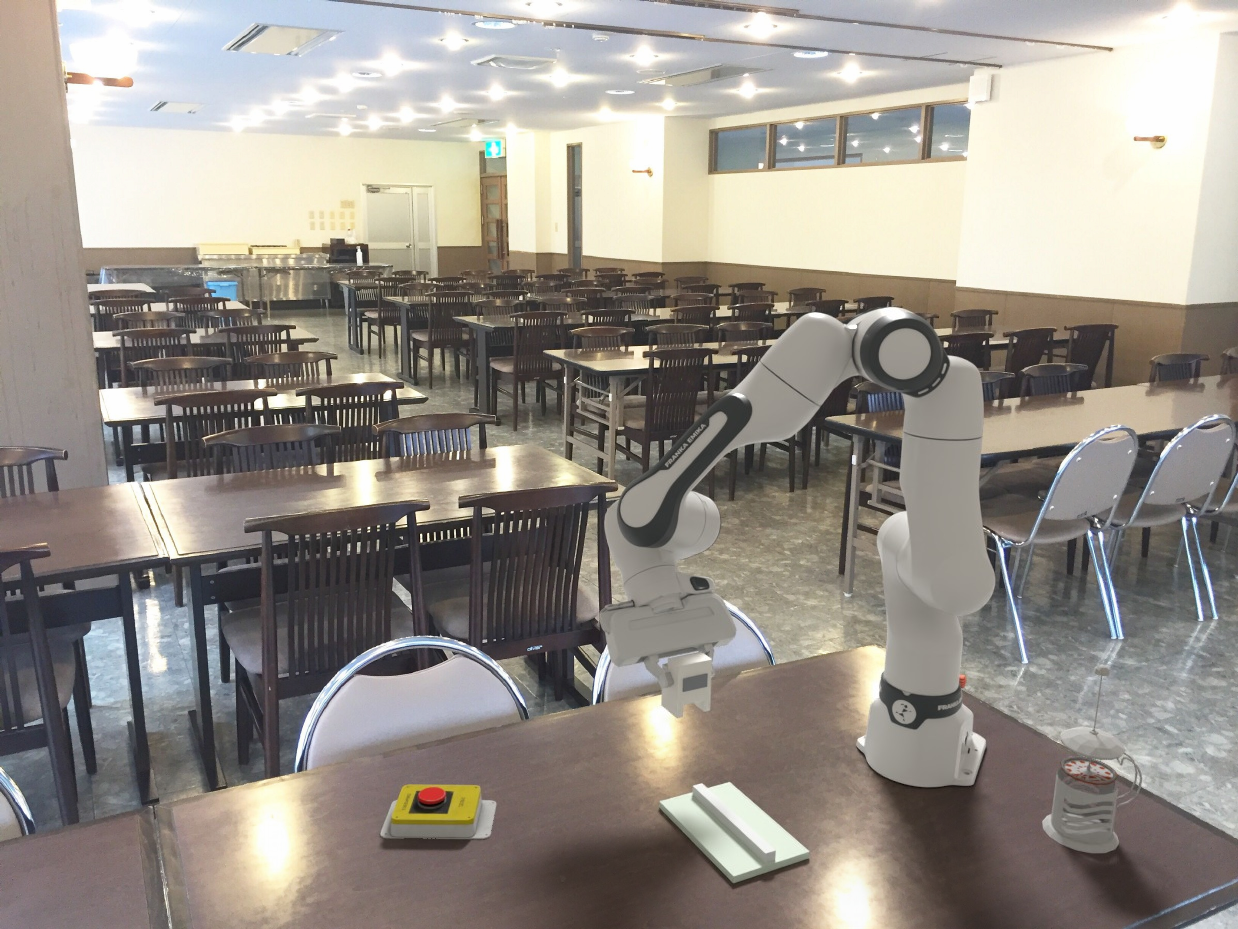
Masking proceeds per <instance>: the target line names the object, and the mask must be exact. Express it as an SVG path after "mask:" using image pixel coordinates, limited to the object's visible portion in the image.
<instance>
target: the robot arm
mask: <svg viewBox="0 0 1238 929" xmlns="http://www.w3.org/2000/svg"><path fill="white" fill-rule="evenodd" d="M855 376H857V377H858V376H860V377H863V378H864V379H866V380H867V381H869V382H871V383H873V384H876V385H878V386H880V387H882V388H884V389H887V390H889V391H893V392H896V393H899V394H901V395H902V398H903V402H904V403H903V404H904V405H903V407H904V410H905V411H904V416H903V425H902V426H903V429H902V440H901V452H900V453H901V454H900V456H901V457H900V464H899V466H900V467H899V487H900V490H901V492H902V496H903V500H904V504H905V510H904V511H899V512H897V513H894V514H893V515H891V516H889V517H888V518H886V520H884V522H883V523H882V524H881V526H880V528H879V529H878V532H877V536H876V548H877V551H878V554H879V557H880V562H881V572H882V586H883V596H884V602H885V613H886V642H885V643H886V644H885V646H886V647H885V658H884V670H883V671H882V673H881V674H880V680H879V684H878V685H879V686H878V687H879V688H878V689H879V693H878V698H875V700H873V701H871V702H870V705H869V710H868V718H867V724H866V729H865V730H866V731H865V734H864V735H863V736H860V737H858V738H857V740H856V745H855V746H856V747H857V748H858V750H860V751H861V752H862V753H863V754H864V756H865V759H866V762H867V763H868V765H869V766H870V767H871V769H873V770H874V772H876V773H878V774H879V775H880V776H883V777H885V778H886V779H889V780H891V781H895V782H897V783H899V784H900V783H901V784H904V785H907V786H913V787H921V788H938V787H944V786H945V787H946V786H961V787H962V786H964V787H965V786H966V787H967V786H968V787H969V786H972V785H974V784H975V780H976V777H977V775H978V771H979V769H980V766H981V763H982V760H983V756H984V753H985V750H986V747H987V741H986V739H985V738H984V737H983V736H982V735H980V734H979V733H976V732H974V731H973V727H974V726H973V725H974V713H973V712H972V711H971V709H969V708H968V706H966V705H965V704H964V703H963V691H962V689H964V688H965V687H966V684H967V679H968V678H967V675H963V674H961V667H962V666H961V665H962V656H963V647H964V646H963V645H964V638H963V637H964V634H963V630H962V627H961V625H960V621H959V617H958V616H967V615H971V614H973V613H975V612H977V611H979V610H981V609H982V608H983V607H984V606H985V605H986V604H988V602H989V601H990V599H991V598H992V595H993V593H994V592H995V591H994V590H995V586H996V574H995V571H994V568H993V565H992V563H991V561H990V558H989V554H988V552H987V546H986V540H985V532H984V525H983V518H982V517H983V516H982V510H981V500H980V474H981V462H982V461H981V460H982V447H983V438H984V436H983V435H984V418H985V417H984V416H985V415H984V414H985V412H984V411H985V410H984V408H985V406H984V404H985V403H984V392H983V383H982V375H981V373H980V370H979V369H978V367H977V366H976V365H975V364H974V363H973V362H971V361H969V360H967V359H964V358H963V357H961V356H960V357H959V356H954V355H948V354H947V351H946V350H945V348H944V346H943V343H942V342H941V339H940V338H939V335H938V333H937V332H936V330H935V329H934V327H933V326H932V324H930V323H929V321H928V320H926V319H925V318H923V317H922V316H921V315H918V314H917V313H915V312H912V311H910V310H908V309H905V308H902V307H897V306H896V307H895V306H894V307H893V306H879V307H873V308H869V309H868V310H864V311H863V312H860V313H858V314H856V315H854V316H852V317H849V318H847V319H845V320H842V321H841V320H840V321H839V319H837V318H835V317H833V316H832V315H830V314H826V313H822V312H808V313H806V314H804V315H802V316H800V317H799V318H798V319H797V320H796V321H795V322H794V323H793V324H792V325H791V326H789V327H788V328H787V329H786V330H785V331H784V332H783V333H782V334H781V336H779V337H778V338H777V340H776V341H774V343H773V344H772V345H771V346H770V347H769V348H768V349H767V351H765V353H764V355H763V356H762V357H761V358H760V360H759V361H758V362H757V364H756V365H755V366H754V367H753V369H751V371H750V372H749V373H748V374H747V375H746V376H745V378H743V380H742V381H741V382H740V383H738V385H737V386H736V387H735V388H733V389H732V390H731V391H729V392H728V393H727V394H726V395H724V396H722V397H720V398H719V399H718V400H716V401H715V402H714V403H713V404H711V405H710V406H709V407H708V408H707V409H706V410H705V411H704V412H703V413H702V414H701V416H699V417H698V419H697V420H695V422H693V424H692V425H691V426H690V427H689V428H688V429H687V430H686V431H685V432H684V434H683V435H682V436H681V437H680V438H679V439H678V440H676V442H675V443H674V444H673V446H671V447H670V449H669V450H667V452H666V453H665V454H664V455H663V456H662V457H661V458H660V460H659V461H658V462H656V463H655V465H653V466H652V467H650V469H649V470H647V471H646V472H643V473H642V474H641V475H639V476H637V477H636V478H634V479H633V480H632V481H631V482H630V483H628V484H627V486H626V487H625V488H624V489H623V491H622V493H621V495H620V497H619V499H617V500H616V501H615V502H613V503H612V505H610V506H609V507H608V508H607V511H606V513H605V515H604V522H603V523H604V532H605V533H604V534H605V538H606V540H607V541H606V542H607V545H608V548H609V552H610V555H611V557H612V560H613V563H614V565H615V567H616V568H617V570H618V571H619V572H620V575H621V584H622V589H623V591H624V595H625V597H626V599H627V601H621V602H619V603H609V604H606V605H605V606H604V608H602V609H601V610H600V611H599V614H598V620H599V623H600V626H601V629H602V630H603V632H604V633H605V641H606V645H607V650H608V655H609V658H610V660H611V663H612V664H614V665H615V666H616V667H618V668H623V667H627V666H632V665H637V664H642V663H644V666H645V669H646V670H647V671H648V672H649V673H650V674H651V675H652V676H653V677H655V678H656V679H657V681H658V685H659V687H660V689H661V690H662V689H663V688H668V687H671V686H672V685H673V684H674V680H673V678H672V675H671V672H666V673H665V671H664V670H663V669H662V667H661V666H660V665H659V664H658V663H659V662H660V659H665V658H666V659H668V658H673V657H677V656H682V655H687V654H692V653H697V652H702V653H704V654H705V655H707V656H708V657H710V658H711V659H712V663H713V661H714V654H715V648H720V647H724V646H727V645H729V643H731V642H732V641H733V640H734V639H735V637H736V634H737V626H736V624H735V621H734V619H733V616H732V614H731V612H730V610H729V608H728V606H727V604H726V602H725V601H724V599H723V598H722V597H721V596H720V595H719V594H718V593H715V592H714V591H715V590H716V584H715V581H714V579H712V578H711V577H707V576H701V575H695V574H689V573H686V572H681V571H679V569H678V566H677V564H678V562H679V561H682V560H686V559H690V558H692V557H694V556H697V555H699V554H703V553H704V552H706V551H708V550H709V549H710V548H712V546H714V544H715V543H716V541H717V539H718V538H719V535H720V532H721V529H722V516H721V513H720V509H719V507H718V505H717V504H716V502H715V501H714V500H713V499H711V498H710V497H708V496H706V495H704V494H701V493H699V492H696V491H693V489H694V488H695V487H696V486H697V485H698V484H699V483H700V482H701V481H702V479H704V478H705V477H706V475H707V474H708V473H709V472H710V471H711V470H712V468H714V466H716V464H718V462H719V461H720V460H721V459H722V458H723V457H724V456H726V455H727V454H728V453H731V451H733V450H735V449H738V448H741V447H744V446H747V445H752V444H758V443H773V442H780V441H784V440H788V439H790V438H793V436H794V435H795V434H797V433H798V432H799V431H801V430H802V429H803V428H804V427H805V426H806V425H807V424H808V423H809V422H810V421H811V420H812V418H813V417H814V416H815V414H816V413H817V412H818V411H819V410H820V408H821V406H822V405H823V404H824V402H825V401H826V400H827V398H828V397H830V394H831V393H832V392H833V390H834V389H836V388H837V387H838V386H839V385H840V384H841V383H842V382H844V381H846V380H848V379H849V378H851V377H855ZM715 676H716V670H715V668H714V665H713V664H712V676H711V679H712V678H713V677H715Z"/></svg>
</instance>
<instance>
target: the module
mask: <svg viewBox="0 0 1238 929" xmlns="http://www.w3.org/2000/svg"><path fill="white" fill-rule="evenodd" d="M712 665H713V662H712V659H711V658H710V657H708V656H707V655H705V654H704V653H702V652H698V651H696V652H691V653H686V654H681V655H677V656H672V657H667V662H665V663H662V667H661V668H662V669H663V670H664V671H665V673H666V672H671V675H672V678H673V680H674V684H673V685H672V686H671V687H668V688H663V689H662V688H661V700H660V701H661V705H660V706H662V708H664V709H665V710H666V711H667V712H669V713H670V714H671V715H672V716H673V717H674V718H675V719H680V718H684V706H687V705H691V704H692V705H693V704H694V706H696V707H697V708H699V709H700V710H701V711H702V712H704V713H706V712H710V711H711V699H712V698H711V697H712V678H711V676H712Z"/></svg>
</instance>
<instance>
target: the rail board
mask: <svg viewBox="0 0 1238 929" xmlns="http://www.w3.org/2000/svg"><path fill="white" fill-rule="evenodd" d="M691 791H692V792H688V793H685V794H681V795H677V796H675V797H670V798H666V799H664V800H662V799H661V800H659V804H658V805H659V809H660V810H661V811H662V812H663V813H664V815H666V816H667V817H668V818H669V819H670V820H671V821H672V823H674V824H675V825H676V826H677V827H678V828H679V829H680V830H681V831H682V833H684V834H685V835H686V836H687V838H689V840H691V842H692V843H693V844H694V845H695V846H696V847H697V848H698V849H699V850H700V851H701V852H702V853H703V854H704V855H705V856H706V857H707V858H708V859H709V860H710V861H711V862H712V863H713V864H714V866H716V867H717V868H718V869H719V871H720V872H722V873H723V874H724V876H726V878H728V880H729V881H730V882H731V883H733V884H736V883H738V882H742V881H745V880H747V879H751V878H753V877H757V876H760V875H762V874H766V873H769V872H772V871H775V870H778V869H781V868H784V867H787V866H789V865H793V864H796V863H800V862H802V861H805V860H808V859H810V850H809V849H807V847H805V846H804V845H803V844H802V843H800V842H799V841H798V840H797V839H796V838H795V837H794V836H792V835H791V834H790V833H789V832H788V831H787V830H785V829H784V828H783V827H782V826H781V825H780V824H779V823H778V822H776V821H775V820H774V819H773V818H772V817H771V816H770V815H769V814H767V813H766V811H764V810H762V809H761V808H760V807H759V806H758V805H757V804H756V803H754V802H753V801H752V800H751V799H750V798H749V797H748V796H746V795H745V794H744V793H743V792H742V790H740V789H738V788H737V787H736V786H735V785H734V784H733V783H732V782H730V781H728V782H724V783H722V784H717V785H714V786H711V787H707V786H706V785H705V784H703V783H698V784H694V785H692V790H691Z"/></svg>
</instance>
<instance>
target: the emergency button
mask: <svg viewBox="0 0 1238 929" xmlns="http://www.w3.org/2000/svg"><path fill="white" fill-rule="evenodd" d="M497 806H498V805H497V801H495V800H491V799H490V800H489V799H487V800H486V799H482V790H481V786H480V785H478V784H477V785H476V784H474V785H473V784H405V785H403V786H402V787H401V790H400V792H399V795H398V796H397V799H396V800H393V801H392V802H391V805H390V807H389V810H388V813H387V814H386V817H385V819H384V822H383V825H382V828H381V830H380V835H379V836H380V837H381V838H383V839H404V838H423V839H425V840H426V839H427V838H428V839H427V840H433V839H434V840H439V839H440V840H486V839H488V838H490V837H491V835H492V831H493V830H492V829H493V826H492V825H494V821H493V820H495V816H494V815H495V814H496V810H497ZM491 830H492V831H491ZM431 838H432V839H431ZM435 838H436V839H435Z"/></svg>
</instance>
